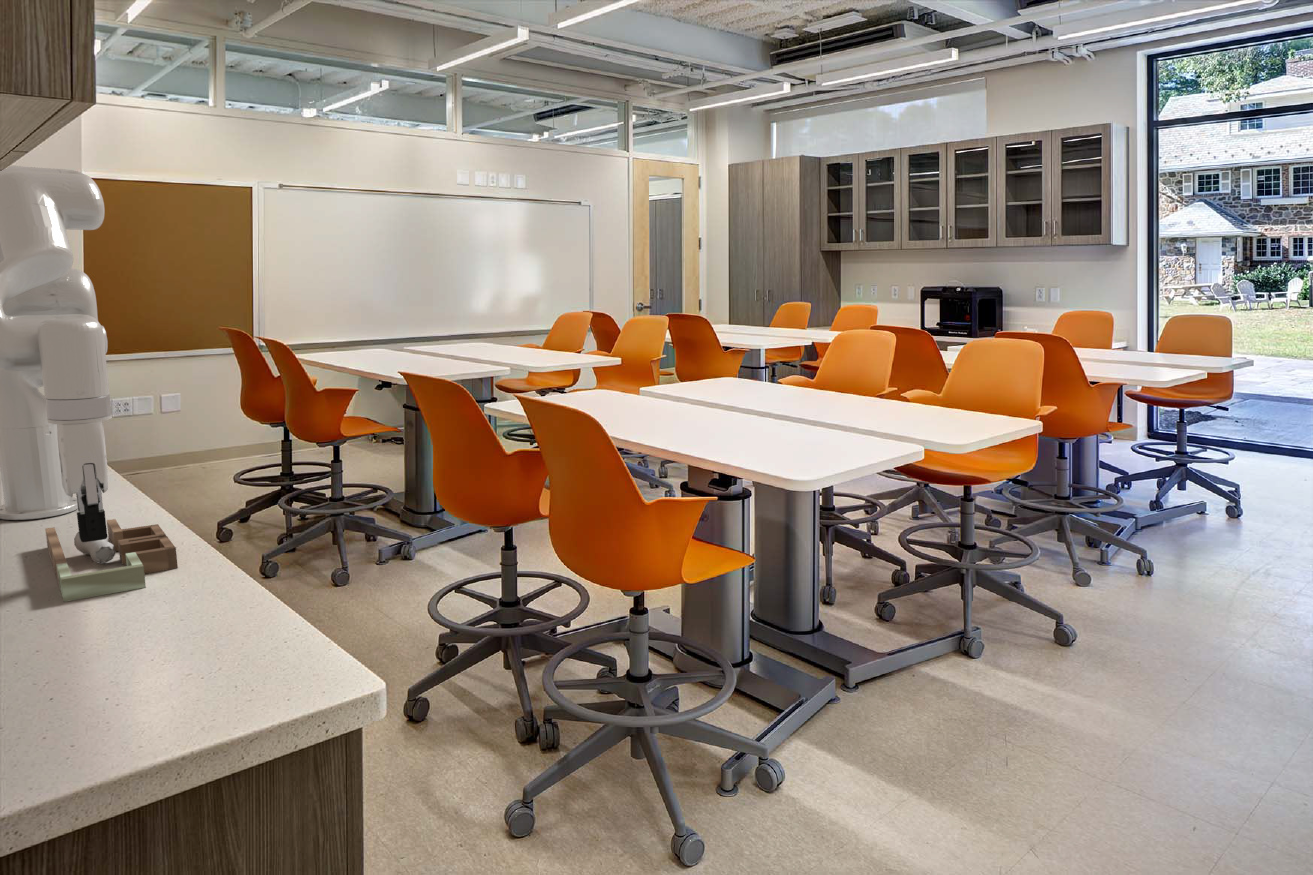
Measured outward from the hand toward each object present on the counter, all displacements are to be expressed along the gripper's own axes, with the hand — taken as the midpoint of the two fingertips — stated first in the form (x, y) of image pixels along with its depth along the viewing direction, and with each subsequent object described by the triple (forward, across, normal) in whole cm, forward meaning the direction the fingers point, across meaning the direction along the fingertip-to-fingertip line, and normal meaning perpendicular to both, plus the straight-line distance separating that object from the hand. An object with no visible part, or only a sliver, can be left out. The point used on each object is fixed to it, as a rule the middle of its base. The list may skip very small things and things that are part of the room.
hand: (93, 539), depth 130 cm
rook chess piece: (+3, -12, 0) cm, 13 cm away
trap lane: (+5, -5, +2) cm, 7 cm away
